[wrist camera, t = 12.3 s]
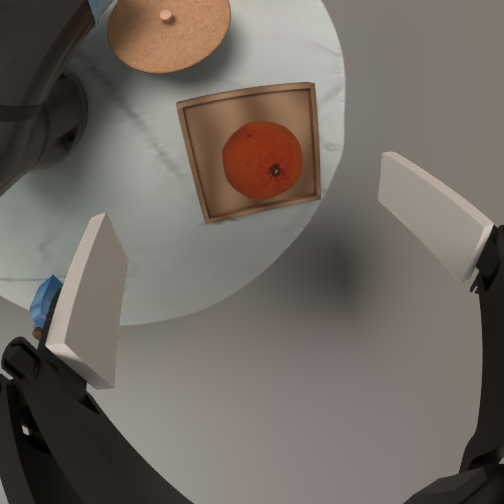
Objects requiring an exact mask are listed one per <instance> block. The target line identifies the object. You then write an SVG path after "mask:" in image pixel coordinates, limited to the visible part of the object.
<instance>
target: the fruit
mask: <svg viewBox="0 0 504 504" xmlns="http://www.w3.org/2000/svg"><path fill="white" fill-rule="evenodd" d="M222 156H223V167H224V173H225V176H226V179H227V181H228V182H229V183H230V185H231V186H232V187H233V188H234V189H235V190H236V191H238V192H239V193H241V194H242V195H244V196H246V197H248V198H251V199H255V200H264V199H269V198H273V197H275V196H277V195H280V194H282V193H284V192H285V191H287V190H289V189H290V188H291V187H293V186H294V184H295V183H296V182H297V181H298V180H299V178H300V176H301V173H302V166H303V154H302V150H301V147H300V143H299V141H298V140H297V138H296V137H295V135H294V134H293V133H292V132H291V131H290V130H288V129H287V128H286V127H284V126H282V125H279V124H277V123H274V122H261V121H254V122H249V123H247V124H245V125H243V126H242V127H241V128H239V129H238V130H237V131H236V132H234V133H233V134H232V135H231V136H230V138H229V139H228V141H227V143H226V144H225V145H224V147H223V150H222Z"/></svg>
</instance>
